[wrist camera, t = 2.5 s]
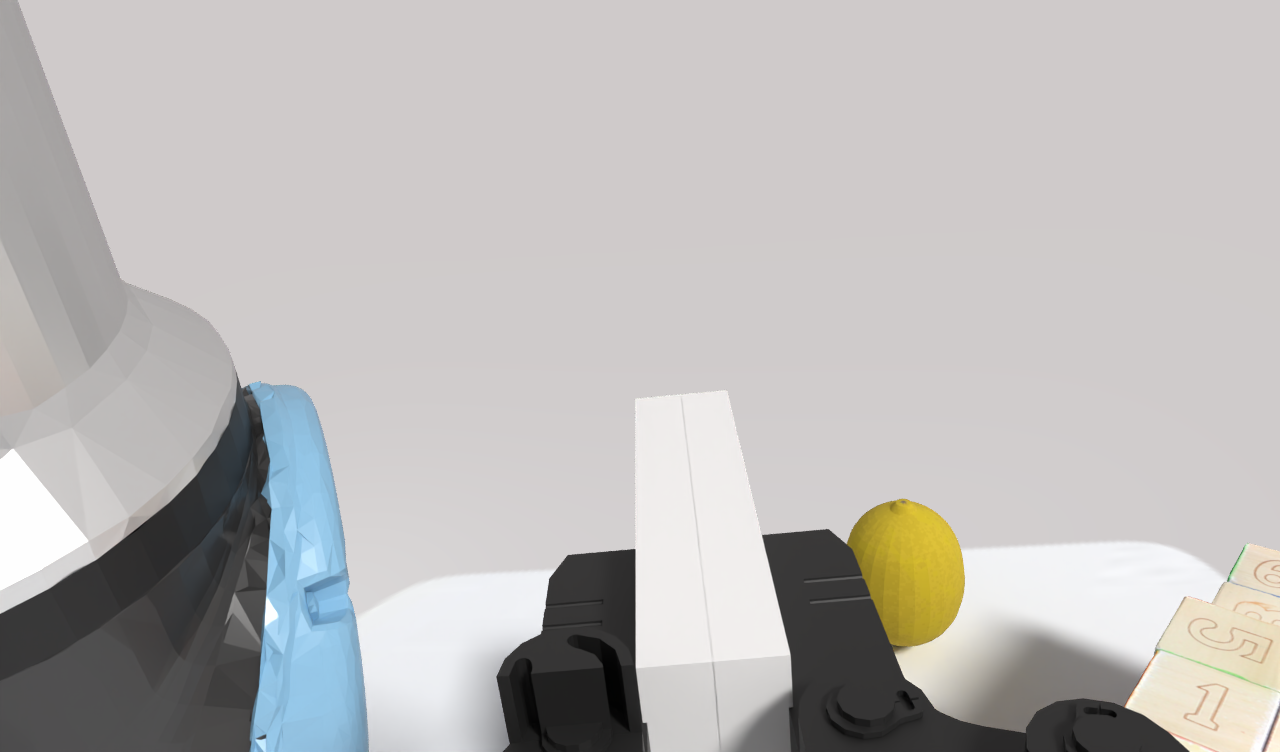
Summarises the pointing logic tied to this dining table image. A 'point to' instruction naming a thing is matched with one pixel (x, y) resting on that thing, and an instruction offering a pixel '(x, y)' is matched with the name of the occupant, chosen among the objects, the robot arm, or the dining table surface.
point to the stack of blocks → (1221, 664)
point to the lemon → (910, 569)
